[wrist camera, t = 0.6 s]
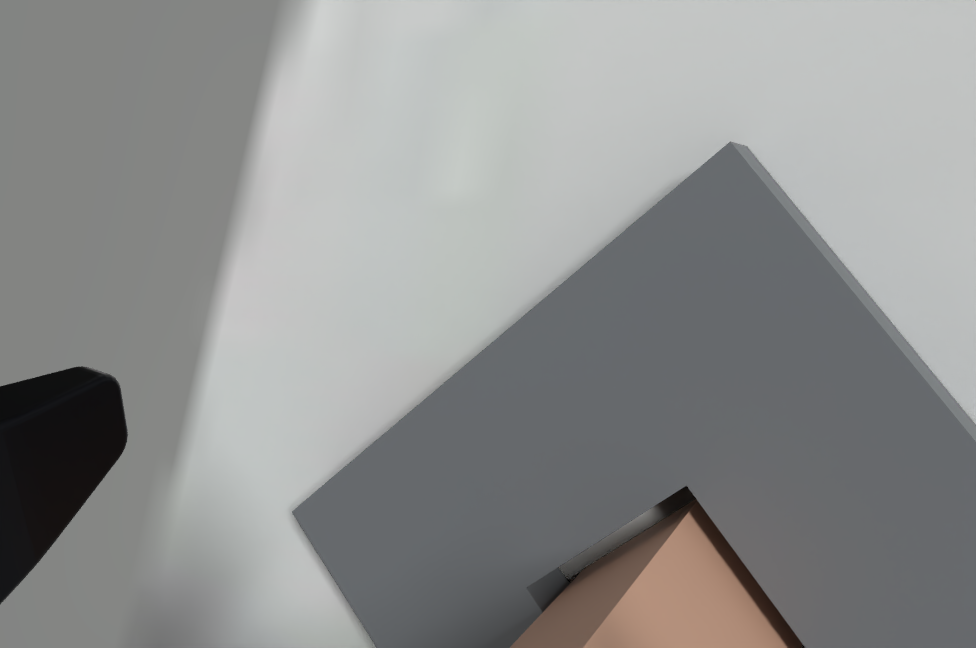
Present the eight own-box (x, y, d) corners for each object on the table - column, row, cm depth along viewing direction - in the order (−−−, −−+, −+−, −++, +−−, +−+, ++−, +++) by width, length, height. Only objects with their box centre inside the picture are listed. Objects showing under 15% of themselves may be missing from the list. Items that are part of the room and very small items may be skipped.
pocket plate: (1264, 776, 16) (1300, 839, 15) (638, 974, 23) (616, 1030, 22) (746, 146, 19) (730, 141, 18) (330, 492, 26) (291, 511, 25)
